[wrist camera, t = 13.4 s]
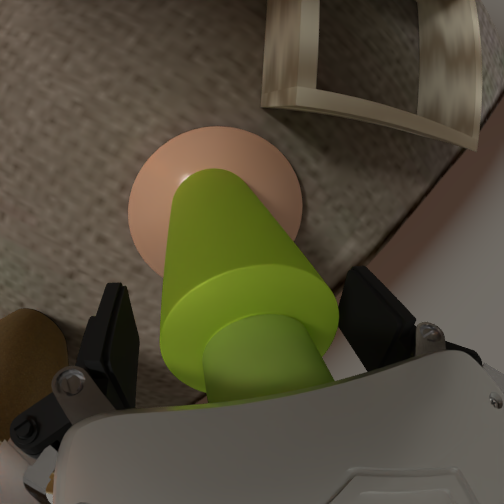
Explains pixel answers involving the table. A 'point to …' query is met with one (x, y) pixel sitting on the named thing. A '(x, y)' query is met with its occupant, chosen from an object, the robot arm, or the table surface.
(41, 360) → the plant pot
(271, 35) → the open wooden box
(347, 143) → the table surface
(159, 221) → the peach oval pebble
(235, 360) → the soap dispenser
